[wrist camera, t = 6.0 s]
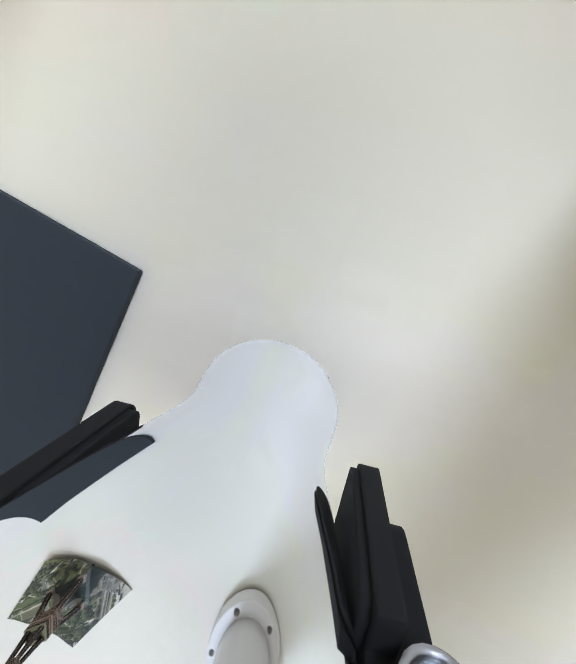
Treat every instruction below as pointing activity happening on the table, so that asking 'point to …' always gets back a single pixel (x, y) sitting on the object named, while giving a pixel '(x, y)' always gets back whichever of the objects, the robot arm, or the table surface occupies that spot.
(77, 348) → the mat
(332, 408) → the beer glass
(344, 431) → the table surface
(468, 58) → the table surface
